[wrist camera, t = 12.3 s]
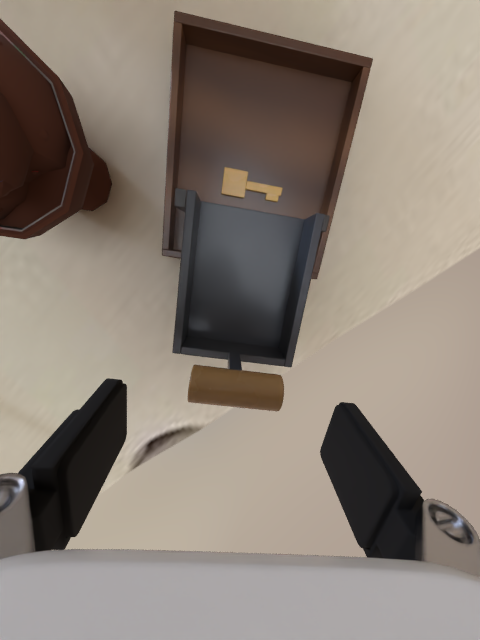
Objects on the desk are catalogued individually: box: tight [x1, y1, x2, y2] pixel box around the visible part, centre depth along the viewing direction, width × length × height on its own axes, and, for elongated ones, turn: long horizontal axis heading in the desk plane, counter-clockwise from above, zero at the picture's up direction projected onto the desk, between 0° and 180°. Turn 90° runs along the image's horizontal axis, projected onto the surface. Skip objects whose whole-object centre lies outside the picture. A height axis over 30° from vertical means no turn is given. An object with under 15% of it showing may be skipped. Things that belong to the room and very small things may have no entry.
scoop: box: [173, 190, 325, 411], centre depth 15 cm, size 12×9×8 cm
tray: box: [162, 11, 373, 279], centre depth 19 cm, size 17×15×7 cm
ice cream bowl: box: [0, 19, 112, 239], centre depth 15 cm, size 11×11×15 cm
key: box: [221, 167, 282, 202], centre depth 22 cm, size 6×2×1 cm, turn 81°
